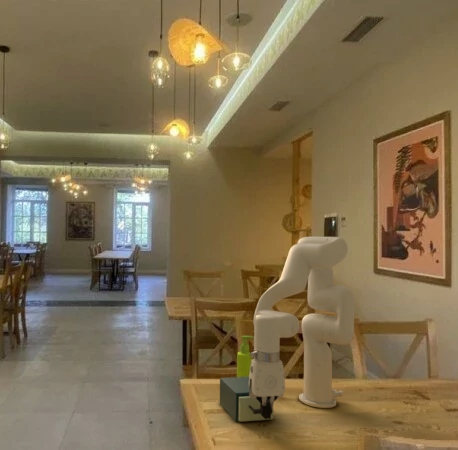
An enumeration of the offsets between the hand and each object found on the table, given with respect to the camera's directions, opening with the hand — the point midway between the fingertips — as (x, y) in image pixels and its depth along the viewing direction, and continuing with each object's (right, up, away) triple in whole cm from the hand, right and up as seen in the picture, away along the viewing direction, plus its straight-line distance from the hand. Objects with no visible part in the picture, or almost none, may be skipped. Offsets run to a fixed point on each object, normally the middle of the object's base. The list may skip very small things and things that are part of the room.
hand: (265, 417), depth 125 cm
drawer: (-2, -4, +10) cm, 11 cm away
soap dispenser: (+2, -6, +39) cm, 39 cm away
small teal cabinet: (-3, -5, +15) cm, 16 cm away
